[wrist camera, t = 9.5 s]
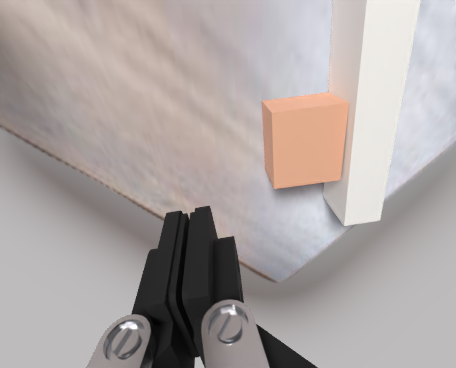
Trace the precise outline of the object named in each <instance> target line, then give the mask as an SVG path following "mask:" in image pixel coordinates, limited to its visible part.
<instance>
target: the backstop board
mask: <svg viewBox="0 0 456 368" xmlns="http://www.w3.org/2000/svg"><path fill="white" fill-rule="evenodd" d="M420 2H421V0H332V19H331V40H330V62H329V83H328V93H330V94H332V95H334V96H336V97H338V98H340V99H343V100H345V101H347V102H349V108H348V117H347V126H346V135H345V143H344V152H343V161H342V170H341V178H340V180H338V181H330V182H324V190H323V197H324V199H325V200H326V202H327V203H328V204H329V206H330V207H331V209H332V210H333V211H334V213H335V214H336V216H337V217H338V218H339V220H340V221H341V222H342V224H343V225H344V226H348V225H354V224H360V223H366V222H373V221H379V220H380V217H381V212H382V207H383V201H384V196H385V191H386V185H387V180H388V174H389V169H390V164H391V158H392V153H393V147H394V142H395V137H396V131H397V126H398V120H399V115H400V110H401V104H402V99H403V93H404V88H405V83H406V77H407V72H408V66H409V61H410V56H411V50H412V45H413V39H414V34H415V29H416V23H417V18H418V12H419V7H420Z"/></svg>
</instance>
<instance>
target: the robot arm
mask: <svg viewBox="0 0 456 368" xmlns="http://www.w3.org/2000/svg"><path fill="white" fill-rule="evenodd" d="M199 356H200V357H201V360H202V362H203V364H204V367H205V368H317V367H316V366H315V365H313V364H312V363H310V362H309V361H308V360H306V359H305V358H303V357H302V356H301V355H299V354H298V353H296V352H295V351H293V350H292V349H291V348H289V347H288V346H286V345H285V344H284V343H282V342H281V341H280V340H278V339H277V338H275V337H273V336H272V335H271V334H270V333H268V332H267V331H265V330H264V329H263V328H261V327H260V326H258V325H257V324H256V323H255V320H254V317H253V314H252V312H251V310H250V309H249V308H248V307H247V306H246V305H245V304H244V301H243V292H242V284H241V276H240V268H239V261H238V255H237V249H236V244H235V240H234V236H232V237H226V238H220V239H218V237H217V233H216V229H215V225H214V221H213V217H212V212H211V208H210V206H205V207H199V208H195V212H192V213H190V220H189V217H188V214H187V213H186V214H183V213H182V211H175V212H169V213H166V216H165V220H164V225H163V229H162V233H161V237H160V241H159V245H158V249H152V250H150V251H149V254H148V257H147V260H146V264H145V268H144V271H143V274H142V278H141V282H140V285H139V289H138V292H137V296H136V300H135V304H134V307H133V310H132V314H131V315H127V316H125V317H122V318H120V319H118V320H117V321H116V322H114V323H113V324H112V325H111V326H110V327H109V328H108V329H107V330H106V331H105V333H104V334H103V336H102V337H101V339H100V341H99V343H98V345H97V347H96V349H95V351H94V353H93V355H92V357H91V360H90V361H89V364H88V366H87V367H86V368H194V363H195V357H199Z"/></svg>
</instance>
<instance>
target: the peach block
mask: <svg viewBox="0 0 456 368" xmlns="http://www.w3.org/2000/svg"><path fill="white" fill-rule="evenodd" d="M348 108H349V102H347V101H345V100H343V99H340V98H338V97H336V96H334V95H332V94H330V93H328V92H327V93H319V94H312V95H304V96H296V97H289V98H281V99H274V100H266V101H262V115H263V136H264V157H265V170H266V172H267V174H268V177H269V179H270V181H271V183H272V186H273V188H274V189H279V188H286V187H293V186H301V185H308V184H316V183H323V182H330V181H338V180H340V178H341V170H342V161H343V152H344V143H345V135H346V126H347V117H348Z"/></svg>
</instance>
